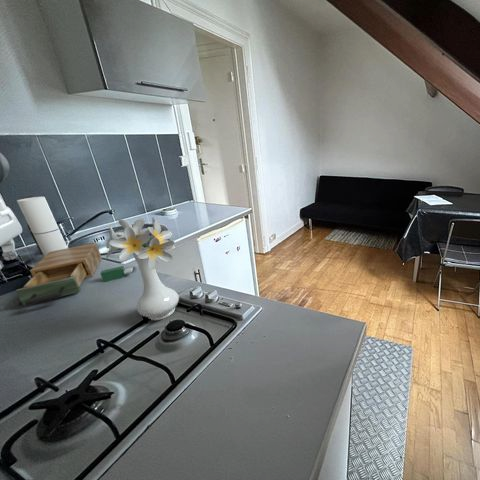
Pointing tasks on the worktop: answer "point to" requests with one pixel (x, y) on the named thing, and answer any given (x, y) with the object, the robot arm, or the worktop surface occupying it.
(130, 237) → the flower vase
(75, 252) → the cabinet
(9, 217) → the robot arm
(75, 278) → the drawer
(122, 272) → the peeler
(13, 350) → the worktop surface
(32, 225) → the cylindrical container
